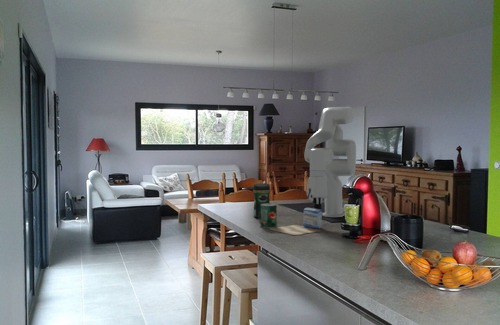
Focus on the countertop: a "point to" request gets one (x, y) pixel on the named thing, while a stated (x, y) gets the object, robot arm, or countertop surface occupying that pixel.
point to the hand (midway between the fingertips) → (317, 211)
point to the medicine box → (312, 218)
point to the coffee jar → (260, 197)
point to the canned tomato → (268, 215)
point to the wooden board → (294, 230)
